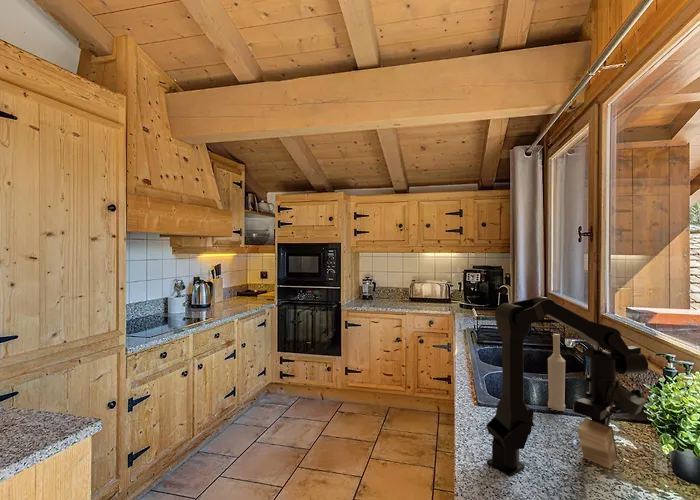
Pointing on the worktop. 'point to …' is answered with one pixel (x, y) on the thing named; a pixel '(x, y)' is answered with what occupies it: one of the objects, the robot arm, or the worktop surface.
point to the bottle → (556, 377)
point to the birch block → (598, 442)
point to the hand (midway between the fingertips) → (602, 435)
